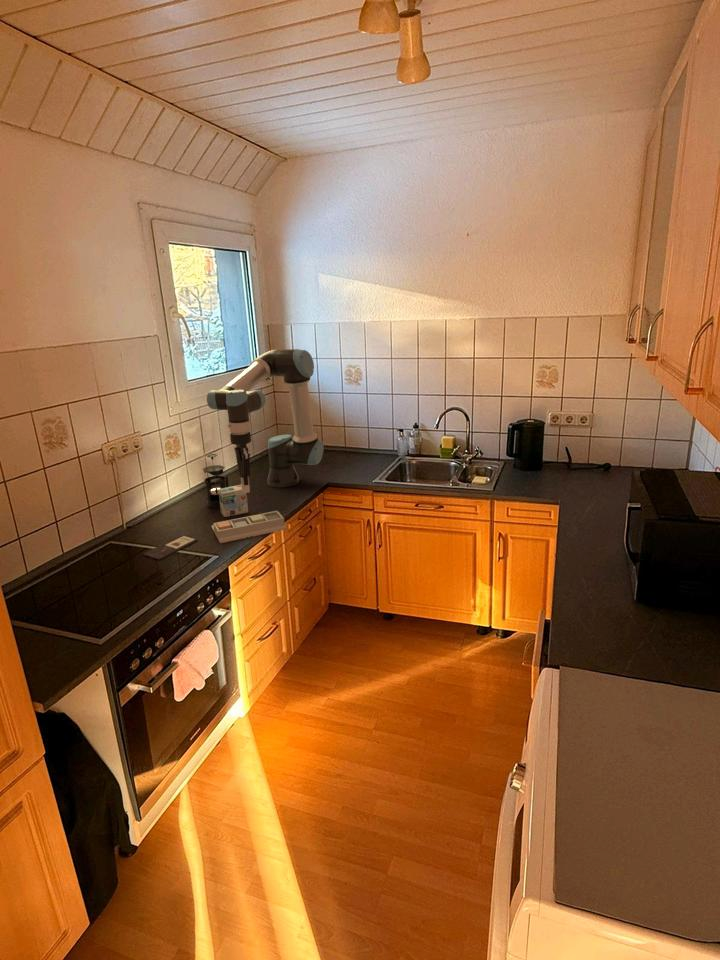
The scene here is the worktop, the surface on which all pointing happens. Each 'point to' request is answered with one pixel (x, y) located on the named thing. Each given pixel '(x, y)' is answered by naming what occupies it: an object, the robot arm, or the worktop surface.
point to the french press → (214, 483)
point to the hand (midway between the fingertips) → (246, 492)
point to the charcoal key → (272, 517)
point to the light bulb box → (233, 501)
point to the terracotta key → (224, 525)
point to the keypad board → (249, 527)
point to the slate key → (240, 523)
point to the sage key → (256, 519)
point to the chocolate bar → (170, 547)
